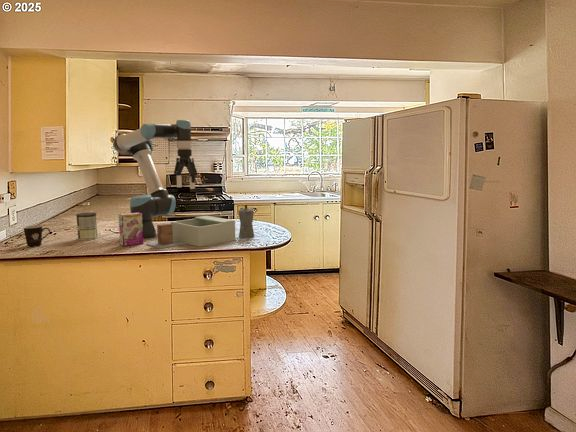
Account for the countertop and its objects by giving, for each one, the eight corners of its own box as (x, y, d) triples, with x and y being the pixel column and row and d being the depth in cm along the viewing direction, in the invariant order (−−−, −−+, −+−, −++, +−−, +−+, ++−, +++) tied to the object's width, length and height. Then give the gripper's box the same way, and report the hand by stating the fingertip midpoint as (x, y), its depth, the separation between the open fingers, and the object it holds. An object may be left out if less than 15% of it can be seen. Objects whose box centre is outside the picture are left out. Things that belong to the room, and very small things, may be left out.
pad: (146, 244, 251) (146, 243, 251) (169, 240, 261) (169, 239, 261) (160, 248, 242) (160, 247, 242) (184, 244, 252) (184, 243, 252)
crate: (171, 239, 264) (170, 220, 263) (206, 233, 281) (206, 215, 280) (199, 246, 246) (198, 225, 245) (235, 239, 263) (234, 220, 262)
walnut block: (157, 243, 251) (156, 224, 250) (167, 242, 255) (167, 223, 254) (162, 245, 248) (162, 225, 246) (173, 243, 252) (172, 224, 250)
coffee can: (73, 239, 267) (72, 214, 265) (89, 236, 275) (88, 212, 273) (85, 241, 261) (84, 215, 259) (101, 238, 270) (100, 213, 268)
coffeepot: (258, 237, 269) (258, 205, 266) (242, 239, 265) (242, 206, 262) (248, 233, 283) (248, 202, 280) (233, 234, 278) (232, 203, 276)
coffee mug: (23, 248, 245) (21, 228, 244) (27, 244, 253) (25, 225, 252) (48, 246, 248) (46, 227, 247) (51, 243, 256) (49, 224, 255)
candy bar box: (123, 246, 246) (121, 215, 244) (119, 245, 250) (117, 214, 248) (144, 243, 254) (142, 213, 251) (140, 242, 258) (138, 212, 255)
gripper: (203, 148, 255) (204, 188, 258) (178, 148, 273) (180, 186, 276) (190, 149, 250) (192, 189, 253) (166, 148, 268) (168, 187, 271)
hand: (185, 188), depth 264 cm, fingers open, 13 cm apart
